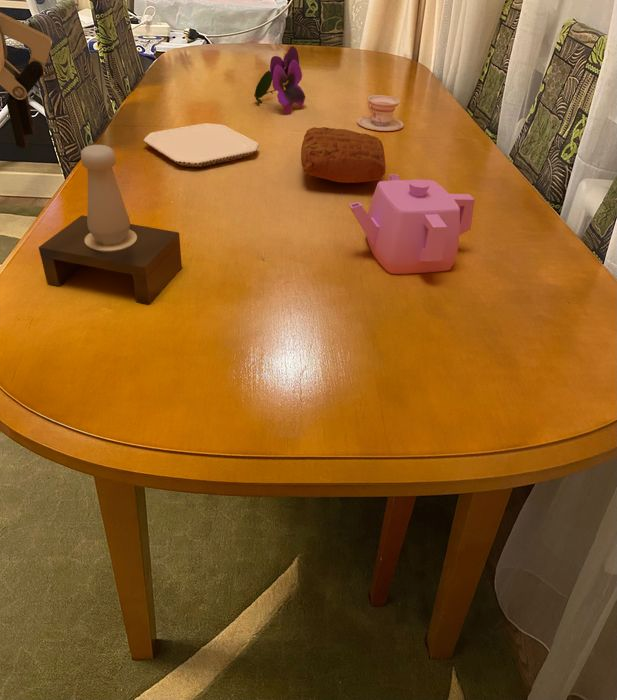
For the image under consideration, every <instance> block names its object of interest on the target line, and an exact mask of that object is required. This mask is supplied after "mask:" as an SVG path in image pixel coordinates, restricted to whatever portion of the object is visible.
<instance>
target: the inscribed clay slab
mask: <svg viewBox="0 0 617 700" xmlns="http://www.w3.org/2000/svg"><path fill="white" fill-rule="evenodd" d="M384 148H385V147H384V145H383V142H382V140H381V139H379V138H378V137H376V136H374V135H371V134H369V133H363V132H362V133H361V132H357V131H353V130H350V129H344V128H333V127H327V126H323V127H313V126H312V127H311V128H309V129H307V130H306V132H305V134H304V136H303V140H302V143H301V148H300V162H301V163H300V164H301V167H302V170H303V172H304V173H305V174H307V175H309V176H311V177H312V176H313V177H316V178H319V179H324V180H328V181H332V182H337V183H343V184H344V183H345V184H347V183H348V184H352V183H353V184H354V183H355V184H356V183H368V182H374V181H377V180H380V179H382V178H384V176H385V174H386V155H385V149H384Z"/></svg>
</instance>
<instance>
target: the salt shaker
mask: <svg viewBox="0 0 617 700" xmlns="http://www.w3.org/2000/svg"><path fill="white" fill-rule="evenodd" d="M80 160H81V165H82V167H83V168H85V169H87V208H86V209H87V211H86V213H87V215H86V216H87V226H88V229H89V231H90V233H91V234H92V236H93V237H94V239H95V240H96V242H99V243H101V244H104V245H112V244H119V243H121V242H122V241H123V240H125V239H126V237H127V234H128V231H129V228H130V224H131V220H130V217H129V215H128V212H127V208H126V206H125V203H124V200H123V197H122V193H121V191H120V188H119V185H118V181H117V179H116V175H115V172H114V170H113V167H114V166H115V165H116V160H117V159H116V155H115V152H114V149H113V148H112V147H110V146H108V145H104V144H90V145H87V146H85V147H83V149H82V150H81V151H80Z"/></svg>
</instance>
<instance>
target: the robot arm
mask: <svg viewBox="0 0 617 700" xmlns="http://www.w3.org/2000/svg"><path fill="white" fill-rule="evenodd" d="M6 37H8V38H10V39H12V40H13V41H16V42H18V43H19V44H21V45H25V46H26V47H28V49H29V50H30V57H29V60H28V62H27V64H25V66H24V68H23V69H22V70H21V71H19V69H17V68H16V67H15V66H14V65H13V64H12V63H11V62H10V61H8V60H7V59H8V46H7V41H6ZM52 46H53V41H52V38H51V37H50V36H49V35H47V34H45V33H43V32H42V31H39V30H38V29H35V28H33V27H31V26H29V25H27V24H25V23H23V22H21V21H19V20H17V19H15V18H13V17H12V16H9V15H7V14H5V13H3V12H1V11H0V86H1V87H2V88H3V89H4V91H6V92H7V94H8V97H7V99H6V107H7V111H8V115H9V119H10V124H11V127H12V132H13V137H14V142H15V145H16V147H18V148H19V149H27V147H28V143H29V139H30V136H34V135H35V123H34V120H33V115H32V110H31V106H30V100H29V96H28V94H29V93H30V92H31V91H32V90H33V88H34V87H35V86H36V84H37V83H38V82H39V81H40V80H41V78H42V76H43V74H44V71H45V68H46V65H47V62H48V59H49V56H50V53H51V49H52Z"/></svg>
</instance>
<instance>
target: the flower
mask: <svg viewBox="0 0 617 700" xmlns="http://www.w3.org/2000/svg"><path fill="white" fill-rule="evenodd" d="M302 78H303V72H302V69H301V65H300V57H299V53H298V50H297V48H296V47H295V46H294V45H293V46H290V47H289V49H288V50H287V52H286V54H285V55H284V56H283V59H282V58H281V57H280V56H278V55H273V56H272V57H271V58H270V62H269V70H268V71H266V72H265V73H264V74H263V75H262V76H261V78H260V79H259V82H257V85H256V87H255V90H254V94H253V96H254V98H255V100H256V101H257V102H258V103H259V104H263V100H261V98H263V97H264V96H266V95H267V94H269V93H270V94H272V95H273V94H274V92H277V94H276V97H277V101H278V103H279V104H281V106H283V113H284V115H291V114H292V109H293V105H294V104H297V106H299V107H300V108H301V109H303V107H304V103H305V100H306V94H305V91H304V90H303V89H302V87H301V86H300V85H299V83H300V82H301V81H302ZM271 86H272V89H273V90H270V87H271ZM269 90H270V91H269Z"/></svg>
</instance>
